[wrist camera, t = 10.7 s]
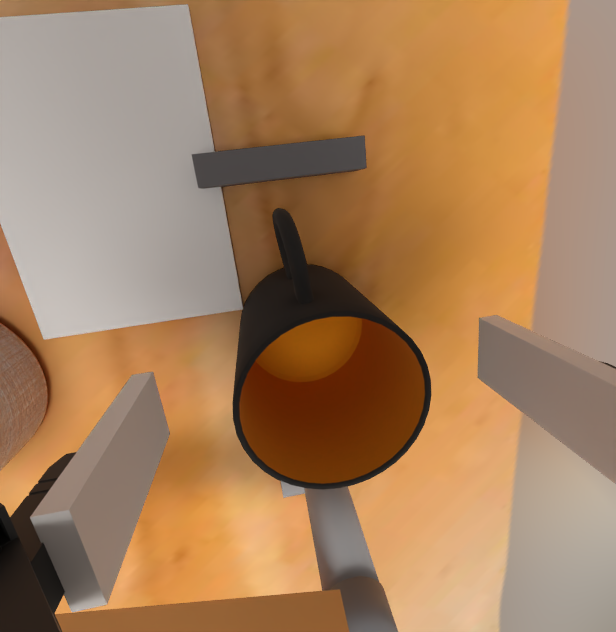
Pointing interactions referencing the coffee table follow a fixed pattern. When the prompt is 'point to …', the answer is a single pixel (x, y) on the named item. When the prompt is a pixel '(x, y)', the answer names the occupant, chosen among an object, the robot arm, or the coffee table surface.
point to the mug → (323, 376)
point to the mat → (110, 171)
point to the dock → (323, 505)
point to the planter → (19, 394)
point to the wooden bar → (253, 613)
